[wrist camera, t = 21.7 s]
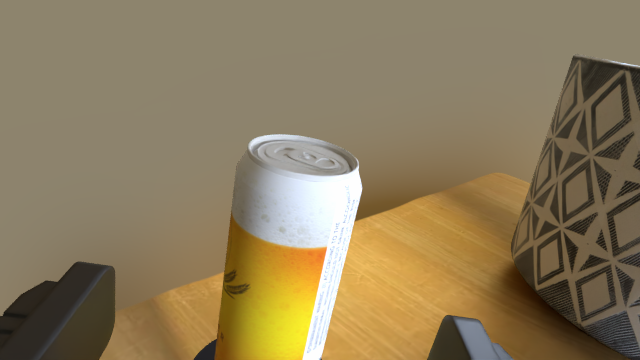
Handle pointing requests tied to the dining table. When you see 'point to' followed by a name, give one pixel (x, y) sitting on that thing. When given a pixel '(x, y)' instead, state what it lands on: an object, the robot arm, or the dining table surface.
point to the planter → (588, 206)
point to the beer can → (286, 247)
